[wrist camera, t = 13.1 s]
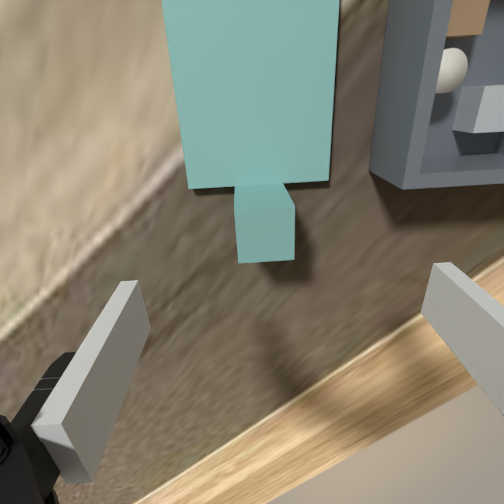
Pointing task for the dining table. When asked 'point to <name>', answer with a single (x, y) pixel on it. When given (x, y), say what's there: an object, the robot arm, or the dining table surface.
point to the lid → (255, 106)
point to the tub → (441, 95)
